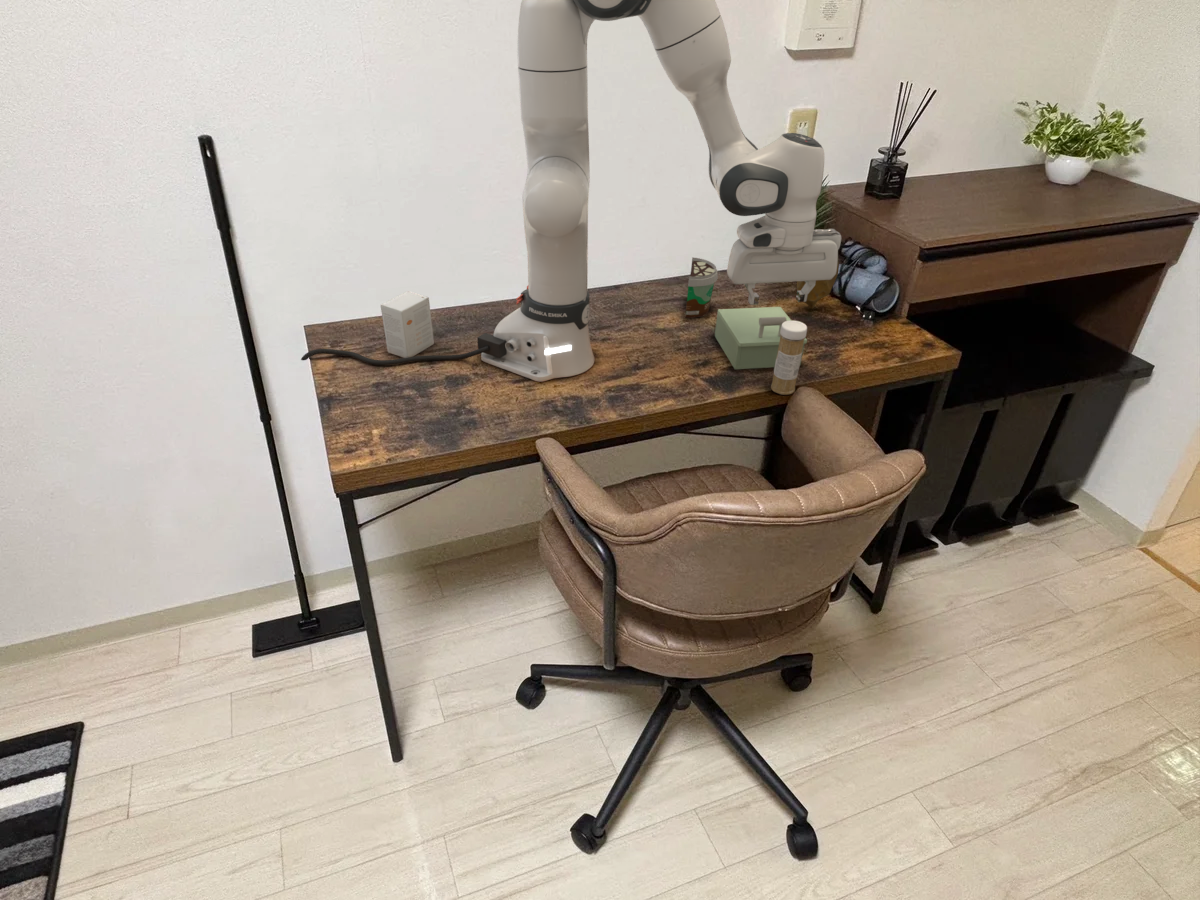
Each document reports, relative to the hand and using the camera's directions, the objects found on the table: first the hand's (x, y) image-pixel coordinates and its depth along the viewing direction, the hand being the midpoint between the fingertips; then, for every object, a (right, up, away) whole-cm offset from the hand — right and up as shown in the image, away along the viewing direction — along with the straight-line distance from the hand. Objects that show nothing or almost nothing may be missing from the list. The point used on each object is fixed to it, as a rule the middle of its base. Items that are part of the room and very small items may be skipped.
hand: (777, 302), depth 146 cm
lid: (-1, -3, +9) cm, 10 cm away
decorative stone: (+15, +4, +30) cm, 34 cm away
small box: (-72, -8, +9) cm, 73 cm away
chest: (-1, -8, +12) cm, 15 cm away
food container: (-11, +3, +28) cm, 30 cm away
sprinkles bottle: (+1, -17, 0) cm, 17 cm away
